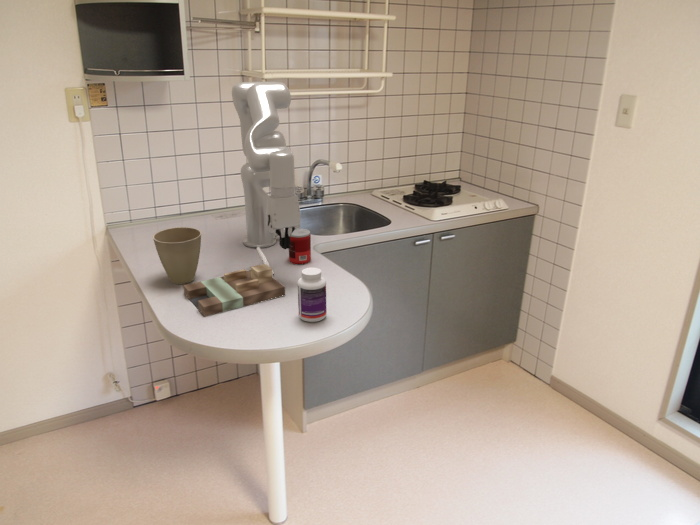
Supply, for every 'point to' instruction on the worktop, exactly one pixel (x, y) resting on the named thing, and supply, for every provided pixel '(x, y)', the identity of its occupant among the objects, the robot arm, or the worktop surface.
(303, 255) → the canned food
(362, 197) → the worktop surface
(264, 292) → the wooden block puzzle
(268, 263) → the white knobbed rod
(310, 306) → the pill bottle
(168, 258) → the plant pot
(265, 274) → the block
